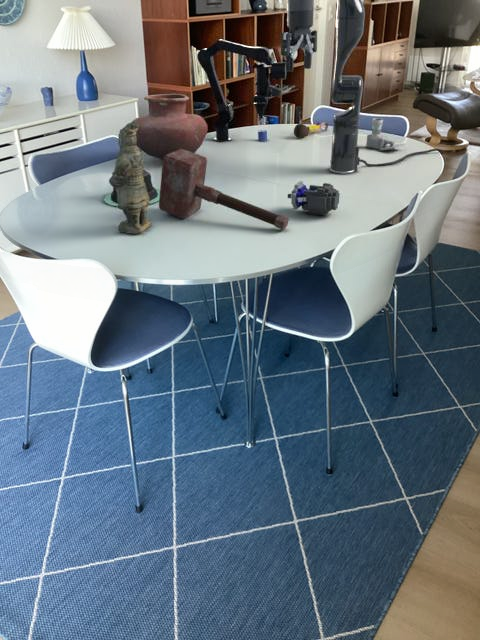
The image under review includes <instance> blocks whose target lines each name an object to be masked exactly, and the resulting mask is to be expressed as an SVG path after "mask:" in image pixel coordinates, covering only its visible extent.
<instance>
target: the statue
mask: <svg viewBox="0 0 480 640" xmlns="http://www.w3.org/2000/svg"><path fill="white" fill-rule="evenodd" d="M132 121H133V120H132ZM132 121H131V122H129V123H127V124H126V125H125V126H123V127H122V128H121V129H119V133H118V139H117V141H118V146H119V152H118V154H117V156H116V160H115V164H114V169H113V172H114V175H113V176H112V175H111V176H110V177H109V180H108V183H109V184H110V186H111V187H112V188H113V187H114V188H115V189H116V192H117V202H118V206H117V209H119V210H122V213H123V214H124V215H125V218H126V219H125V220H122V221H120V222H119V224H118V225H117V231H118V232H121V233H126V234H134V235H136V234H142V233H143V232H145V231H146V230H147V229H148V228H150V227H151V226H152V225H153V223H152V220H150V219H148V216H147V214H148V213H147V212H148V211H147V209H148V206H149V205H150V197H149V195H148V192H147V188H146V184H145V182H144V178H143V169H144V165H145V157H144V152H143V151H142V150H141V149H140V148H139V147H138V146H137V145H136V143H137V138H136V131H137V130H138V127H139V123H138V122H137V121H133V122H132Z"/></svg>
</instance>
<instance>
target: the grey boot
mask: <svg viewBox="0 0 480 640" xmlns="http://www.w3.org/2000/svg"><path fill="white" fill-rule="evenodd" d="M383 123H384V119H383V118H380V117H376V118H375V117H374V118H372V121H371V125H372V129H371V133H370V134H367V136H366V144H365V148H369V149H375V150H380V151H388V150H396V149H399V148H400V147H403V146H405V145H406V144H405V143H398V144H397V143H396V140H392V139H390V138H389V137H388V136H387V135H381V134H382V126H383ZM380 151H379V152H380Z"/></svg>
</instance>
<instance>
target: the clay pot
mask: <svg viewBox="0 0 480 640" xmlns="http://www.w3.org/2000/svg"><path fill="white" fill-rule="evenodd" d="M143 99H144V101H147V102H148V105H149V113H148V114H147V115H145V116H140V117H136V118H134V119H133V120H132V121H131V122H133V121H137V122H138V123H139V127H138V130H137V131H136V138H137V143H136V146H137V147H138V149H139V150H141V151H142V153H143V154H146V155H148V156H150V157H152V158H155V159H157V160H162V161H163V158H164V156H165V155H167V154H170V153H172V152H174V151H177V150H179V149H184V150H187V151H190V152H192V153H195V154H196V152H197V151H198V150H199V148H200V147H201V146H202V145H203V143H204V141H205V139H206V137H207V135H208V130H209V129H208V128H209V127H208V123H207V121H206V120H205V119H204V117H202V115H199V114H195V113H186V109H187V102H188V101H189V99H190V97H189V96H187V95H186V94H182V93H181V94H180V93H179V94H178V93H166V94H165V93H161V94H151V95H145V96H144V98H143Z"/></svg>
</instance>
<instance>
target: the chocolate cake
mask: <svg viewBox="0 0 480 640" xmlns="http://www.w3.org/2000/svg"><path fill="white" fill-rule="evenodd" d="M113 175H114V171H112V173H111V176H113ZM143 178H144V182H145V184H146V188H147V192H148V195H149V197H150V204H154V203H157V202H159V198H160V188H156V187H154V185H153V182H152V174H151V172H149V171H148V170H146V169H144V168H143ZM103 200H104V202H105V203H106V204H108V205H109V206H115V207H118V202H117V192H116V189H115V188H114V187H112V191H111V193H108V194H107V195H106V196H104V198H103ZM150 204H149V205H150Z"/></svg>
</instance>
